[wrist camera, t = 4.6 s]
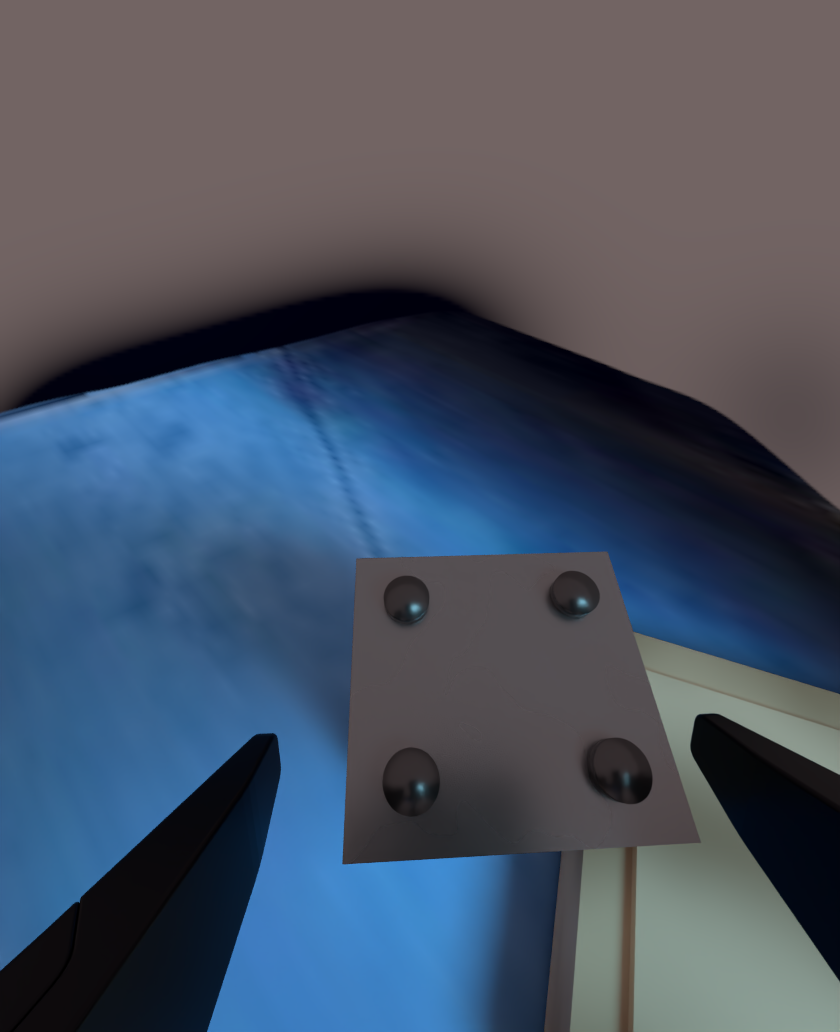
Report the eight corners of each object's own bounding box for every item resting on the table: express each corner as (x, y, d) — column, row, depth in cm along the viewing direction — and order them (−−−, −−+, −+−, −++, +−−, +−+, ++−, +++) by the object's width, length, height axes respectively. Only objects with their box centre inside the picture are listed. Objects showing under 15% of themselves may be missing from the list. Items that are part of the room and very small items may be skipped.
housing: (527, 793, 15) (713, 846, 6) (382, 801, 15) (339, 868, 6) (506, 656, 18) (613, 545, 8) (383, 661, 17) (355, 552, 8)
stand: (1133, 1400, 9) (1330, 1572, 7) (536, 1111, 11) (563, 1187, 9) (926, 740, 16) (996, 738, 14) (582, 634, 18) (603, 619, 16)
